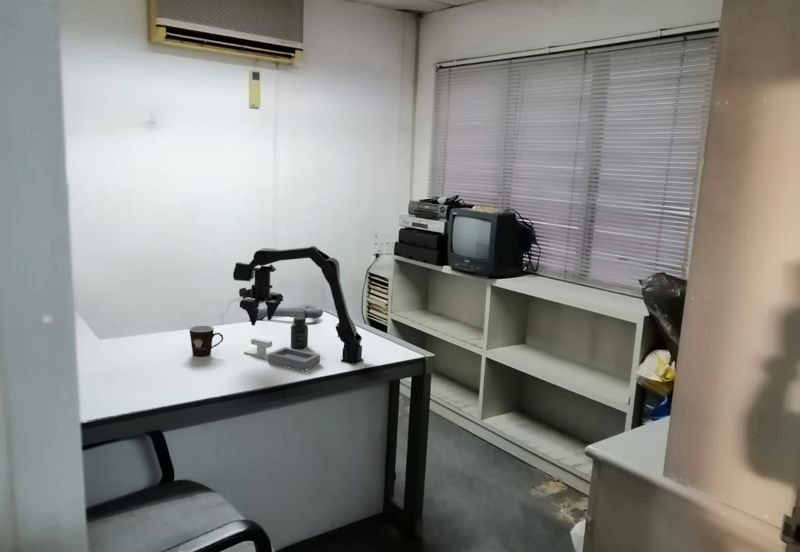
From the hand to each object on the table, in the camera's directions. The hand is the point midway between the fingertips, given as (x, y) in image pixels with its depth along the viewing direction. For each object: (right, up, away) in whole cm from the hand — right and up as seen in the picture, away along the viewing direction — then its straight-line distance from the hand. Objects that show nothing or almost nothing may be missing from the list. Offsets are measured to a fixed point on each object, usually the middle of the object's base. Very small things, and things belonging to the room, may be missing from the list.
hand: (261, 322), depth 228 cm
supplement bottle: (+12, -11, +14) cm, 21 cm away
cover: (-1, -13, +2) cm, 13 cm away
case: (+13, -15, -5) cm, 20 cm away
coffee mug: (-21, -12, -2) cm, 24 cm away
